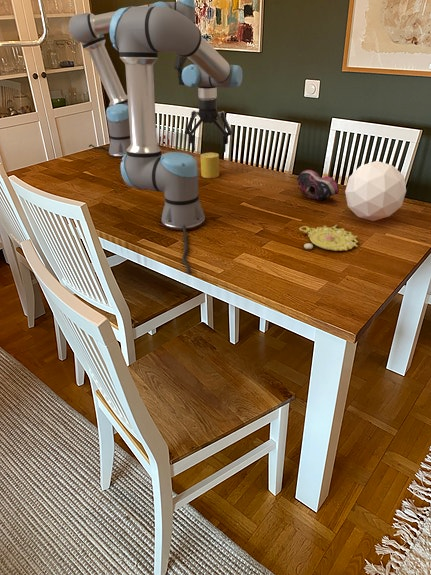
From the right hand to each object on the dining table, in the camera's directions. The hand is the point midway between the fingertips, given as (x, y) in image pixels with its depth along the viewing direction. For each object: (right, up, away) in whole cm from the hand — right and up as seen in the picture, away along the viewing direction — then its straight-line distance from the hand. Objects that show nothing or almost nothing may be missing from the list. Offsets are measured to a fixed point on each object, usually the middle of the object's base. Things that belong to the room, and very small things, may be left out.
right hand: (208, 151), depth 192 cm
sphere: (+57, -35, -37) cm, 77 cm away
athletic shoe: (+41, -23, -19) cm, 50 cm away
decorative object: (+39, -44, -51) cm, 78 cm away
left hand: (-10, +44, +31) cm, 55 cm away
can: (+1, -9, +6) cm, 11 cm away
